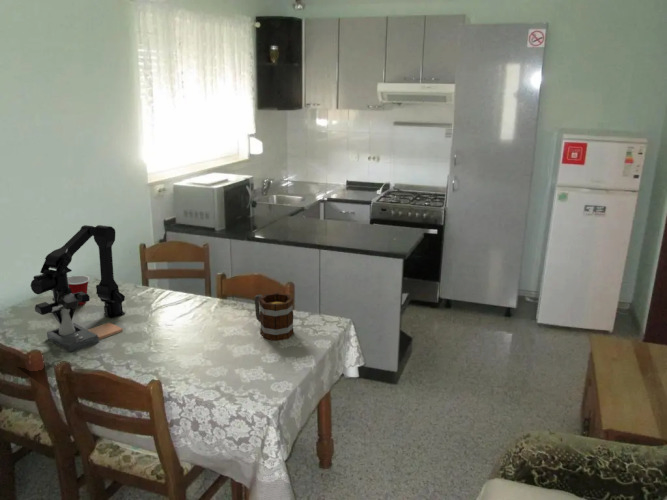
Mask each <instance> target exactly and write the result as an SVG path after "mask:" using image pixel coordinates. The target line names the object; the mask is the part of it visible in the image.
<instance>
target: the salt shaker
mask: <svg viewBox="0 0 667 500" xmlns="http://www.w3.org/2000/svg"><path fill="white" fill-rule="evenodd" d="M58 308H59V310H61V312H60V314H61V319H62V323H61V324H58V328H59V335H60V336H61V337H63V336H66V335H69V334H72V333H75V328H74V325H73V323H74V322H73V319H72V320H71V317H70V314H69V312H70V309H65V308H64V307H63V306H58Z"/></svg>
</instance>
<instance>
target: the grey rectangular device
mask: <svg viewBox="0 0 667 500" xmlns="http://www.w3.org/2000/svg"><path fill="white" fill-rule="evenodd" d="M73 325H74V328H75V333H72V334H69V335H66V336H63V337H61V336H60V335H59V327H58V328H55V329H51V330H48V331H46V339H47V340H48V341H50V342H52V343H53V344H55V345H57V346H58V347H60V348H62V349H63V350H66V351H67V352H68V353H72V352H76V351H79V350H81V349H83V348H84V349H85V348H86V347H89V346H92V345H95V344H98V343H99V339H98V335H96V334H94V333H92V332H91V331H89V330H88V329H86V328H85V327H83V326H81V325H78V324H77V323H76V322H73Z"/></svg>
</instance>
